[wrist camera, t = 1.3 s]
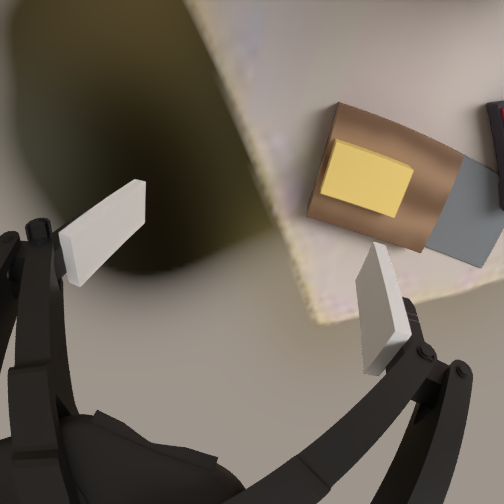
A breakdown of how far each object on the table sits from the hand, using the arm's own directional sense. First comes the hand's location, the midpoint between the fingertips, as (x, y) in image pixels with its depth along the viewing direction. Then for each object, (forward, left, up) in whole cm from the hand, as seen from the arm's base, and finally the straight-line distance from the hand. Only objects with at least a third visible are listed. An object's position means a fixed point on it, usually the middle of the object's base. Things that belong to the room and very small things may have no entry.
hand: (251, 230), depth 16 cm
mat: (0, +27, -22) cm, 35 cm away
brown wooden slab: (0, +12, -22) cm, 25 cm away
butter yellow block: (0, +9, -19) cm, 21 cm away
